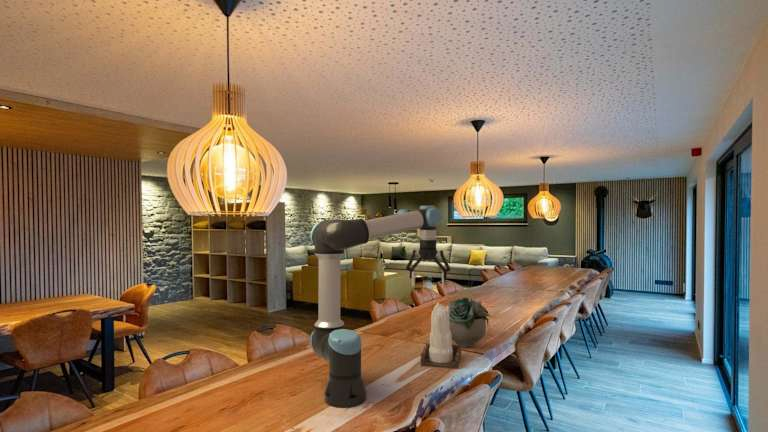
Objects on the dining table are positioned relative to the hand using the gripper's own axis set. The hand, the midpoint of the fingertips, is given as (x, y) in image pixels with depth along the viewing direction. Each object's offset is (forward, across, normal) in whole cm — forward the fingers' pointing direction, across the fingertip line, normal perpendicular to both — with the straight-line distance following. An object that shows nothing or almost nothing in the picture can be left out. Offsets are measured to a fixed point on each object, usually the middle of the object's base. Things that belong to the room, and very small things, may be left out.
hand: (428, 286), depth 185 cm
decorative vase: (+33, -5, -3) cm, 34 cm away
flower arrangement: (+34, -14, -31) cm, 48 cm away
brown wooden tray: (+34, -6, -4) cm, 35 cm away
